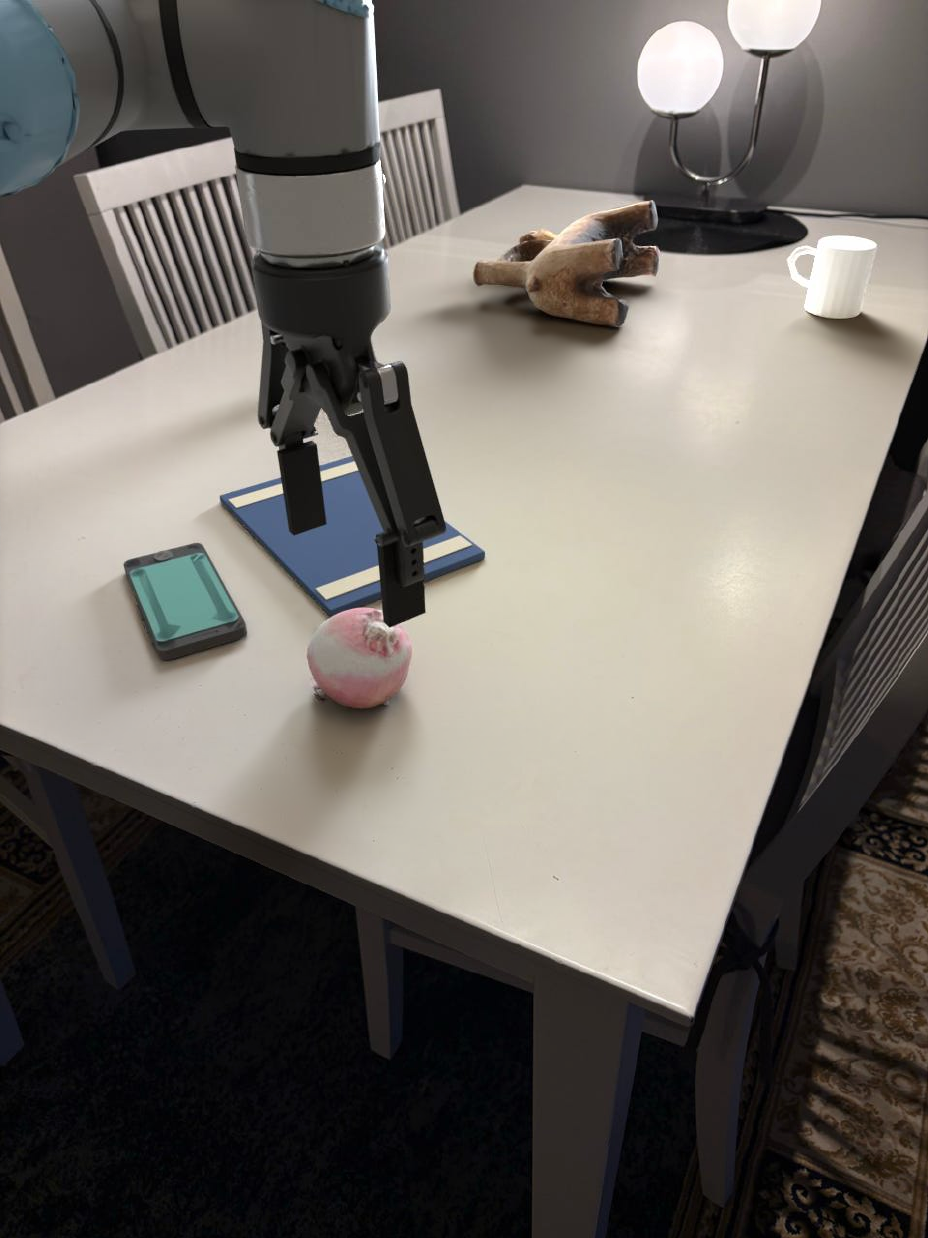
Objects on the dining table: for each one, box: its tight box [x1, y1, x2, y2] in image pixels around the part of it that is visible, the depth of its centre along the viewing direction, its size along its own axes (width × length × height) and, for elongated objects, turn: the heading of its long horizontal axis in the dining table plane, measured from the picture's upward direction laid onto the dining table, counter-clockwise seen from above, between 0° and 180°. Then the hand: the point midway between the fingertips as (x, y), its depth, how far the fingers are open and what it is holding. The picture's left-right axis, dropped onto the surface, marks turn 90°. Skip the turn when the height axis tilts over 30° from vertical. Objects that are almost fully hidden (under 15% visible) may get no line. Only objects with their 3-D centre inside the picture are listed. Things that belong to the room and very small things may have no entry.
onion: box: [306, 607, 413, 710], centre depth 67 cm, size 8×8×7 cm
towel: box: [219, 455, 486, 618], centre depth 88 cm, size 24×16×1 cm, turn 35°
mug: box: [786, 235, 878, 320], centre depth 136 cm, size 8×12×10 cm, turn 74°
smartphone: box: [122, 542, 248, 661], centre depth 78 cm, size 7×1×15 cm
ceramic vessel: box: [472, 199, 661, 328], centre depth 142 cm, size 13×31×25 cm
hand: (352, 569), depth 63 cm, fingers open, 13 cm apart
